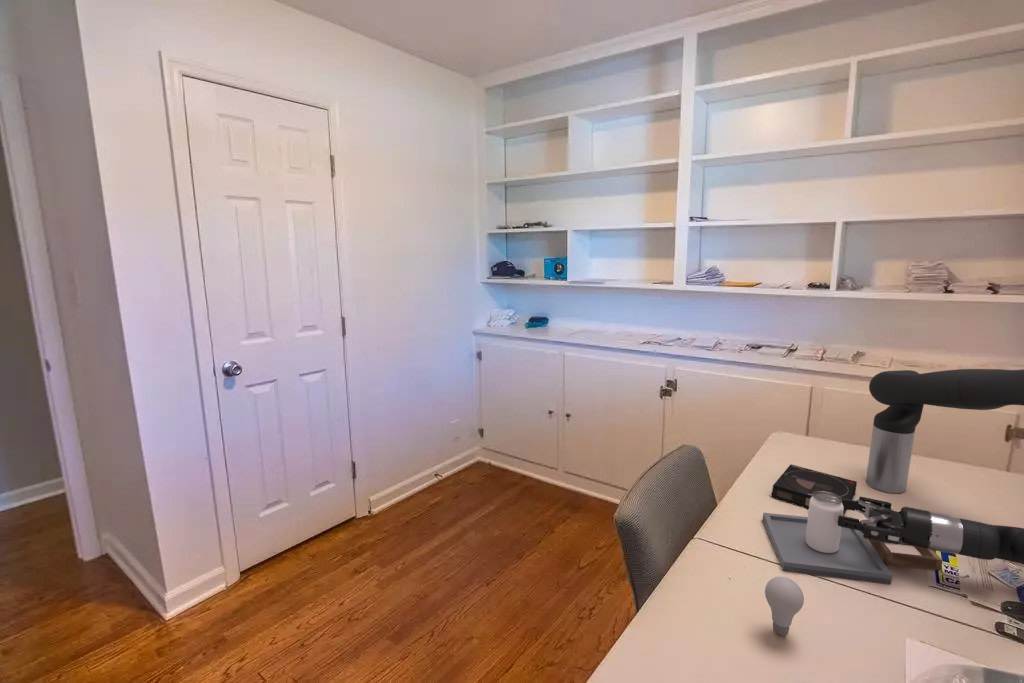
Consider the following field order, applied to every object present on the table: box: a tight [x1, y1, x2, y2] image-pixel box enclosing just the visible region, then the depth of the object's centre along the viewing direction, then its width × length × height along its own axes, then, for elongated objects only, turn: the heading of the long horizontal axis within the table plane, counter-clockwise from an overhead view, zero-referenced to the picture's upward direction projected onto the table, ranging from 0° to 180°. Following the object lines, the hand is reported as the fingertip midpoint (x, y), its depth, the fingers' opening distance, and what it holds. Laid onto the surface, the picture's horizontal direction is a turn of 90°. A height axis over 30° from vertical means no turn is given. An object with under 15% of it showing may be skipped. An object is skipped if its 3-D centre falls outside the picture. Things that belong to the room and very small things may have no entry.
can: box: [806, 491, 844, 554], centre depth 115 cm, size 6×6×12 cm
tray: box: [762, 512, 893, 585], centre depth 117 cm, size 20×20×2 cm
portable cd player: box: [771, 463, 858, 516], centre depth 140 cm, size 16×17×4 cm
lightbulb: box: [764, 576, 805, 637], centre depth 92 cm, size 6×6×11 cm
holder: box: [867, 534, 944, 572], centre depth 115 cm, size 10×10×2 cm
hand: (836, 510), depth 114 cm, fingers open, 8 cm apart
